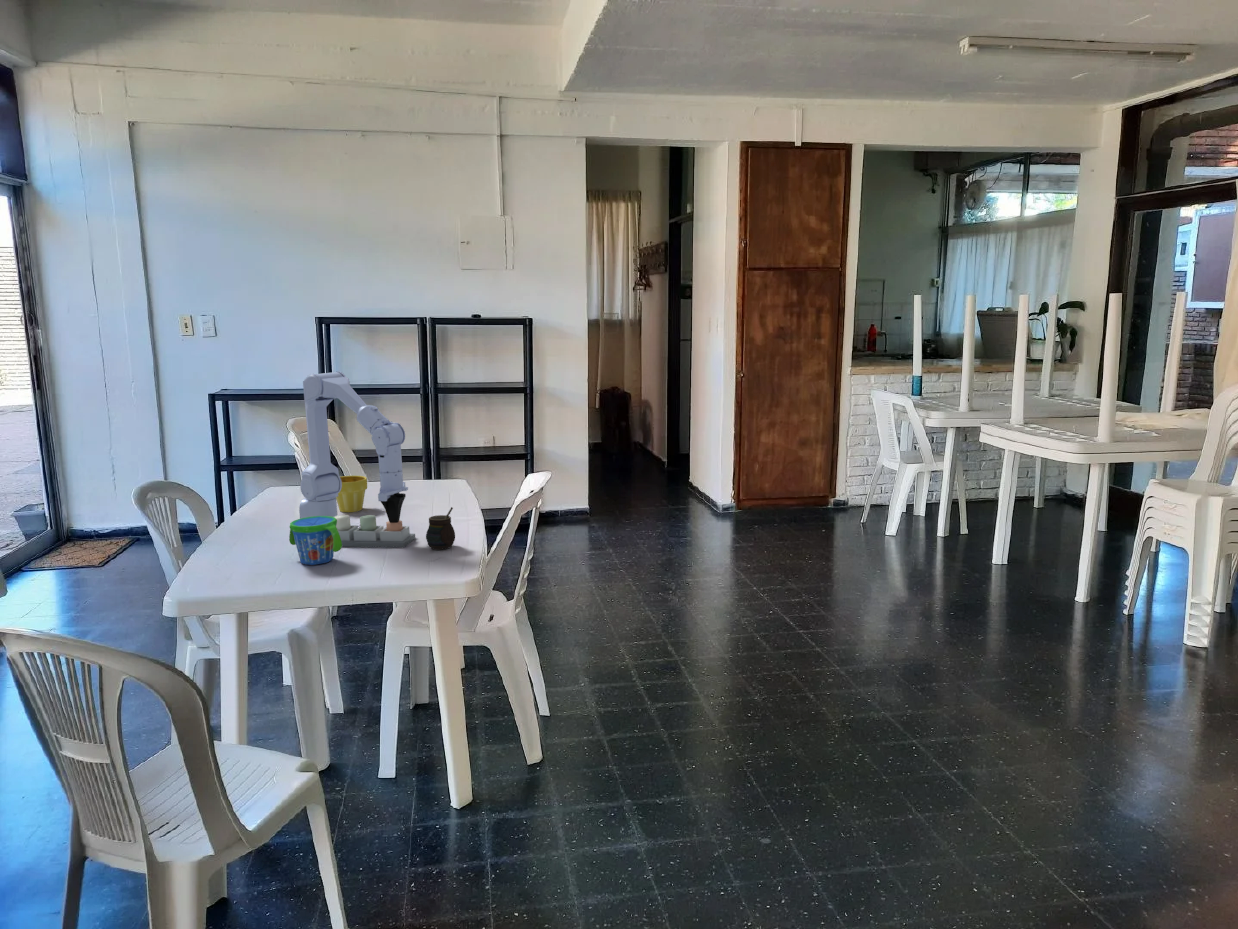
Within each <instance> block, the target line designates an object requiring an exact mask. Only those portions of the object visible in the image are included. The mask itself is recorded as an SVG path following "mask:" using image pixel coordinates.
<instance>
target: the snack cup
mask: <svg viewBox="0 0 1238 929" xmlns="http://www.w3.org/2000/svg"><path fill="white" fill-rule="evenodd" d="M336 525H337V519H336V518H334V517H331V516H313V517H306V518H301V519H300V518H297V519H296V520H293V521H291V522H290V523H289V529H290V530H289V536H288V537H289V543H290V545H292V546H296V550H297V553H298V557H299V561H300V563H301V564H304V565H309V566H310V565H311V566H315V565H322V564H326V563H329V562H331V561H332V560H333V559H334V553H338V552H339V551H341V549H342V548H343V547H342V542H341V538H340V535H339V532H338V529H337V528H336Z"/></svg>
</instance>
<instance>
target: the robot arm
mask: <svg viewBox="0 0 1238 929" xmlns="http://www.w3.org/2000/svg"><path fill="white" fill-rule="evenodd" d="M350 382H351V381H350V379H349V378H348V377H346V375H345V374H344V373H343V371H342V372H341V371H340V370H338V371H334V372H333V371H332V372H325V373H324V372H323V373H310V374H308V375H307V376H306V377H305V378H304V380H303V381H302V387H303V399H304V408H305V420H306V433H307V445H308V456H309V465H307V467H306V468H305V469H304V470H303V471H301V482H300V487H299V488H300V492H301V494H302V496H303V497H304V498H303V499H301V501H300V503H299V506H298V508H299V509H298V511H299V519H301V518H306V517H313V516H331V517H335V516H339V515H338V503H337V500H336V497H338V493H339V492H340V491H341V488H342V481H341V479H340V477H341V475H340V472H339V468H338V467H337V466H335V465H334V464H333V463H332V462H331V451H330V438H329V436H330V435H329V425H328V412H327V411H328V410H327V407H328V406H329V405H330V403H331V402H332V401H333V400H335V399H338V400H339V401H341V403H343V404H344V405H345V406H346V407H347V408H348V409H350V410H351V411H353V412H354V414H356V421H357V422H358V423H359V424H360V425H361V426H362V428H364V429H365V430H366V431H367V432H368V433H369V434H370V435H371V441H372V443H373V445H374V448H375V452H376V455H377V456H378V469H379V484H380V486H379V487H380V488H379V492H378V494H377V498H378V499H377V500H378V502H380V503H381V504H382V506H383V508H384V510H385V512H386V516H387V518H388V519H387V520H388V521H389V522H390V523H398V522H399V520H401V519H400V518H401V512H402V508H403V503H404V501H405V499H406V493H401V492H407V491H408V490H409V487H407V486H406V482H405V481H404V478H403V477H404V476H403V474H404V472H403V459H402V446H401V445H402V444H403V443H404V442H405V439H406V433H405V432H406V431H405V429H404V427H403V425H401V423H399V422H393V421H390V419H388V417H386V416H385V415H384V414H383V413H382V412H381V411H380V410H379V408H378V407H377V405H372V404H366V402H365V401H364V400H363V398H361V397H360V395H359V394H357V392H356V391H355V390H354V389H353V387H352V386H351V384H350Z"/></svg>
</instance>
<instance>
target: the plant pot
mask: <svg viewBox="0 0 1238 929" xmlns="http://www.w3.org/2000/svg"><path fill="white" fill-rule="evenodd" d="M340 479H341V481H342V488H341V491H340V492H339V493H338V497H336V502H337V507H338V509H339V512H341V513H356V512H361V511H362V510H363V507H364V501H365V494H366V490H367V489H368V478H367V476H363V475H344V476H340Z"/></svg>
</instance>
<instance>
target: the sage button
mask: <svg viewBox="0 0 1238 929" xmlns="http://www.w3.org/2000/svg"><path fill="white" fill-rule="evenodd" d="M376 526H377V516H376V515H372V514H368V515H367V514H366V515H362V516H360V517H359V527H360V528H361V531H375V530H376V529H377V527H376Z"/></svg>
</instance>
